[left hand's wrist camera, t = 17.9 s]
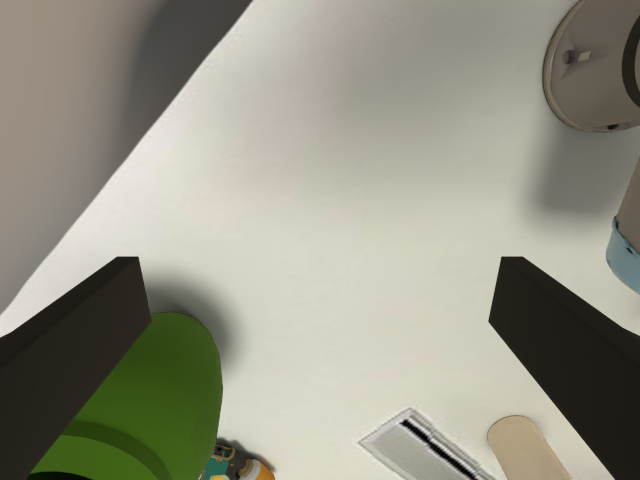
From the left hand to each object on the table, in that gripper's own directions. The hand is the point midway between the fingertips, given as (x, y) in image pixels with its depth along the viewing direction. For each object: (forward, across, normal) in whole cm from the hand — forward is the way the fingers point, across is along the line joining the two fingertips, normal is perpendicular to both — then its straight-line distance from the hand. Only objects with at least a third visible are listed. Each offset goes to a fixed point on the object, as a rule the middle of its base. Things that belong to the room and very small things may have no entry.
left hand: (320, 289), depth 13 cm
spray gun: (+32, -16, -56) cm, 66 cm away
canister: (+32, +33, -46) cm, 64 cm away
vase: (+32, -21, -25) cm, 46 cm away
